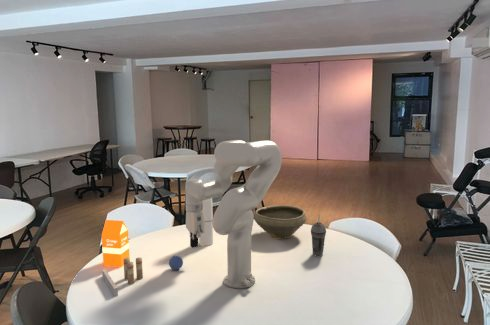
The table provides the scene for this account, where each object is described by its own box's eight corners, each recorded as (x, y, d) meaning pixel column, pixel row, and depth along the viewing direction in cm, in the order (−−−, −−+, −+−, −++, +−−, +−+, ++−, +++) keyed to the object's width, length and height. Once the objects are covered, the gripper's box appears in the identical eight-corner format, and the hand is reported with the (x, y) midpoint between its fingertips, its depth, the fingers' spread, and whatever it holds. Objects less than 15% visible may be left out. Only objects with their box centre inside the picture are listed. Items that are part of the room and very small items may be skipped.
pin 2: (135, 283, 156) (134, 263, 155) (128, 285, 155) (127, 264, 153) (133, 281, 158) (132, 261, 157) (127, 282, 157) (126, 262, 155)
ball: (185, 270, 168) (184, 256, 167) (172, 273, 165) (171, 259, 164) (179, 265, 173) (179, 252, 172) (167, 268, 170) (166, 255, 169)
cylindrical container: (212, 246, 196) (211, 197, 192) (198, 245, 196) (197, 197, 193) (213, 241, 203) (212, 194, 199) (200, 241, 203) (199, 194, 200)
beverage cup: (324, 251, 188) (325, 211, 185) (326, 257, 181) (327, 216, 178) (309, 251, 189) (310, 211, 186) (310, 257, 181) (311, 215, 178)
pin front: (143, 278, 160) (142, 258, 159) (137, 280, 159) (136, 260, 158) (141, 276, 162) (140, 256, 161) (135, 277, 161) (134, 258, 160)
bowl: (313, 233, 215) (314, 208, 213) (292, 249, 192) (293, 222, 190) (269, 224, 230) (269, 201, 228) (244, 237, 207) (244, 212, 205)
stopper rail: (117, 295, 146) (117, 288, 146) (114, 296, 146) (114, 288, 145) (105, 275, 163) (105, 268, 163) (102, 276, 162) (102, 269, 162)
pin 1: (131, 278, 160) (130, 259, 159) (125, 280, 159) (124, 260, 158) (129, 276, 162) (128, 257, 161) (123, 277, 161) (122, 258, 160)
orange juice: (121, 267, 172) (118, 223, 168) (103, 265, 173) (100, 222, 170) (130, 260, 179) (127, 218, 176) (112, 258, 181) (110, 217, 178)
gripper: (209, 210, 166) (209, 250, 169) (194, 201, 178) (194, 239, 182) (193, 212, 162) (193, 254, 165) (179, 203, 174) (179, 242, 178)
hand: (194, 246), depth 173 cm, fingers closed
